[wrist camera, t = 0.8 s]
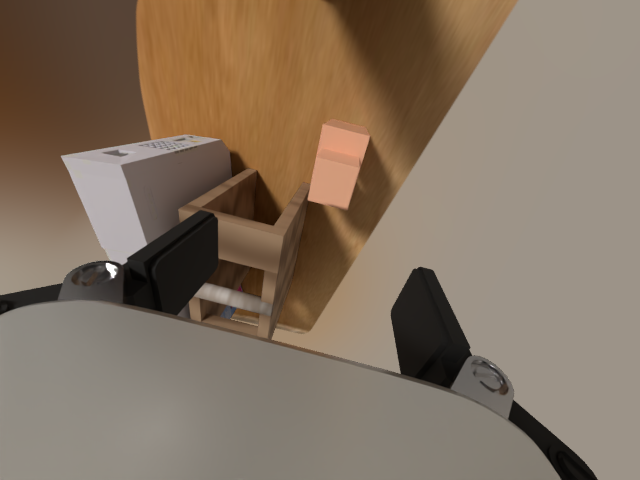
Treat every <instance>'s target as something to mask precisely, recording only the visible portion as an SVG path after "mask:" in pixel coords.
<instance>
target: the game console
mask: <svg viewBox="0 0 640 480" xmlns="http://www.w3.org/2000/svg"><path fill="white" fill-rule="evenodd" d="M61 157H62V159H63V161H64V163H65V165H66V167H67V169H68V171H69V173H70V176H71V178H72V180H73V182H74V185H75V187H76V189H77V192H78V194H79V196H80V198H81V201H82V203H83V205H84V208H85V210H86V212H87V214H88V217H89V219H90V222H91V224H92V226H93V228H94V231H95V233H96V235H97V238H98V240H99V242H100V244H101V247H102V248H105V251H106V253H107V255H108V257H109V260H110V261H115V262H118V263H120V264H121V265H123V264H124V263H126V262H127V258H128V257H129V256H131V255H132V254H134V253H135V252H137V251H138V250H140V249H141V248H143V247H144V246H146V245H147V244H149V243H150V242H152V241H154V240H155V239H157V238H158V237H160V236H161V235H163V234H164V233H166V232H167V231H169V230H170V229H172V228H173V227H175V226H176V225H178V224H179V223H180V220H179V211H178V209H179V208H181V207H183V206H185V205H186V204H188V203H190V202H191V201H193V200H195V199H197V198H198V197H200V196H202V195H203V194H205V193H207V192H208V191H210V190H212V189H214V188H215V187H217V186H219V185H220V184H222V183H224V182H225V181H227V180H229V179H231V178H232V170H231V159H230V151H229V150H228V148H227V147H226V146H225V144H224V143H223V141H222V140H221V139H214V138H207V137H199V136H192V135H181V136H175V137H169V138H163V139H157V140H151V141H145V142H140V143H134V144H128V145H123V146H116V147H110V148H105V149H99V150H93V151H87V152H81V153H75V154H69V155H64V156H61ZM177 316H180V317H185V318H188V319H191V317H190V308H189V302H188V303H187V305H186V306H185V307H184V308H183V309H182V310H181V312H180V313H179V314H178V315H177Z"/></svg>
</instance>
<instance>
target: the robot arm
mask: <svg viewBox="0 0 640 480" xmlns="http://www.w3.org/2000/svg"><path fill="white" fill-rule="evenodd" d="M218 263H219V261H218V218H217V217H215V215H214V213H211V212H207V211H203V210H199V211H197V212H196V213H194V214H193V215H191V216H190V217H188V218H187V219H185V220H184V221H182V222H181V223H179V224H178V225H176V226H175V227H173V228H172V229H170V230H169V231H167V232H166V233H164V234H163V235H161V236H160V237H158V238H157V239H155V240H154V241H152V242H150V243H149V244H147V245H146V246H144V247H143V248H141V249H140V250H138V251H137V252H135V253H134V254H132V255H131V256H129V257H128V258H127V262H126V263H124V264H123V265H121V264H120V263H118V262H115V261H96V262H91V263H87V264H84V265H81V266H79V267H77V268H75V269H73V270H72V271H71V272H69V273H68V274H67V275H66V277H65V279H64V281H63V283H61V284H57V285H51V286H46V287H41V288H36V289H31V290H25V291H20V292H15V293H10V294H5V295H0V480H598V479H597V478H596V476H595V475H594V473H593V472H592V470H591V469H590V468H589V467H588V466H587V464H585V462H584V461H583V460H582V459H581V458H580V457H579V456H578V455H577V454H575V452H573V451H572V450H571V449H570V448H569V447H568V446H566V445H565V444H564V443H563V442H562V441H561V440H559V439H558V438H557V437H556V436H555V435H554V434H552V433H551V432H550V431H549V430H548V429H547V428H546V427H544V426H543V425H542V424H541V423H540V422H538V421H537V420H536V419H535V418H534V417H533V416H531V415H530V414H529V413H528V412H527V411H526V410H525V409H523V408H522V407H521V406H520V405H519V404H518V403H516V402H515V401H514V400H513V397H514V389H513V387H512V384H511V382H510V381H509V379H508V377H507V376H506V375H505V374H504V373H503V371H502V370H500V368H498V367H497V366H496V365H495V364H494V363H492V362H490V361H489V360H487V359H485V358H483V357H480V356H475V355H474V356H472V354H471V352H470V350H469V349H470V346H469V343H468V342H467V339H466V337H465V335H464V333H463V331H462V329H461V327H460V325H459V323H458V321H457V319H456V316H455V315H454V313H453V310H452V308H451V306H450V304H449V302H448V300H447V298H446V296H445V294H444V292H443V290H442V288H441V285H440V283H439V282H438V279H437V277H436V275H435V273H434V271H433V270H431V269H427V268H423V267H419V268H417V269H414V270H413V271H412V273H411V275H410V276H409V279H408V280H407V282H406V284H405V285H404V287H403V289H402V291H401V293H400V294H399V296H398V298H397V300H396V302H395V304H394V305H393V308H392V310H391V320H392V325H393V331H394V337H395V343H396V348H397V354H398V360H399V366H400V371H401V374H398V373H395V372H392V371H388V370H384V369H381V368H377V367H373V366H370V365H366V364H362V363H358V362H354V361H350V360H347V359H343V358H339V357H336V356H332V355H328V354H324V353H321V352H317V351H313V350H309V349H305V348H301V347H297V346H294V345H289V344H286V343H282V342H278V341H274V340H271V339H267V338H263V337H259V336H255V335H251V334H247V333H244V332H240V331H236V330H232V329H228V328H224V327H220V326H216V325H212V324H208V323H204V322H200V321H196V320H192V319H188V318H185V317H180V316H177V315H178V314H179V313H180V312H181V310H182V309H183V308H184V307H185V306H186V305H187V303H188V302H189V301H190V300H191V299H192V298H193V296H194V295H195V294H196V293H197V292H198V291H199V289H200V288H201V287H202V286H203V285H204V284H205V282H206V281H207V280H208V279H209V278H210V277H211V275H212V274H213V273H214V272H215V271H216V269H217V267H218Z"/></svg>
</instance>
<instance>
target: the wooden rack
mask: <svg viewBox="0 0 640 480" xmlns="http://www.w3.org/2000/svg"><path fill="white" fill-rule="evenodd" d="M256 178H257V170H254V169H250V168H248V169H246V170H244V171H243V172H241V173H239V174H237V175H236V176H234V177H232V178H231V179H229V180H227V181H225V182H224V183H222V184H220V185H219V186H217V187H215V188H214V189H212V190H210V191H208V192H207V193H205V194H203V195H202V196H200V197H198V198H197V199H195V200H193V201H191V202H190V203H188V204H186V205H185V206H183V207H181V208H179V209H178V211H179V220H180V223H181V222H182V221H184V220H185V219H187V218H188V217H190V216H191V215H193V214H194V213H196V212H197V211H199V210H203V211H207V212H211V213H214V215H215V217H217V218H218V261H219V263H218V267H217V269H216V271H215V272H214V273H213V274H212V275H211V277H210V278H209V279H208V280H207V281H206V282H205V284H204V285H203V286H202V287H201V288H200V289H199V291H198V292H197V293H196V294H195V295H194V296H193V298H192V299H191V300H190V301H189V308H190V317H191V319H192V320H196V321H200V322H204V323H208V324H212V325H216V326H220V327H224V328H228V329H232V330H236V331H240V332H244V333H247V334H251V335H255V336H259V337H263V338H267V339H271V338H272V336H273V333H274V330H275V327H276V324H277V322H278V319H279V316H280V313H281V310H282V308H283V305H284V302H285V299H286V296H287V294H288V291H289V288H290V285H291V283H292V279H293V274H294V269H295V264H296V259H297V254H298V249H299V244H300V240H301V235H302V230H303V225H304V220H305V215H306V210H307V205H308V195H309V190H310V185H311V184H308V183H305V182H303V183H302V185H301V186H300V188H299V189H298V191H297V192H296V194H295V195H294V196H293V198H292V199H291V201H290V202H289V204H288V205H287V207H286V208H285V210H284V211H283V213H282V214H281V216H280V217H279V219H278V220H277V222H276V223H275V225H274V226H272V225H268V224H264V223H260V222H256V221H253V218H254V205H255V191H256ZM250 267H254V268H258V269H262V270H265V272H264V280H263V289H262V297H260V296H256V295H252V294H249V293H245V292H241V291H237V289H238V288H239V286H240V284H241V283H242V281H243V280H244V278H245V277H246V275H247V274H248V272H249V270H250ZM227 305H228V306H232V307H236V308H240V309H244V310H248V311H252V312H256V313H259V322H258V326H254V325H250V324H246V323H242V322H238V321H235V320H231V319H227V318H223V317H220V316H221V314H222V313H223V311H224V309H225V308H226V306H227Z"/></svg>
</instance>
